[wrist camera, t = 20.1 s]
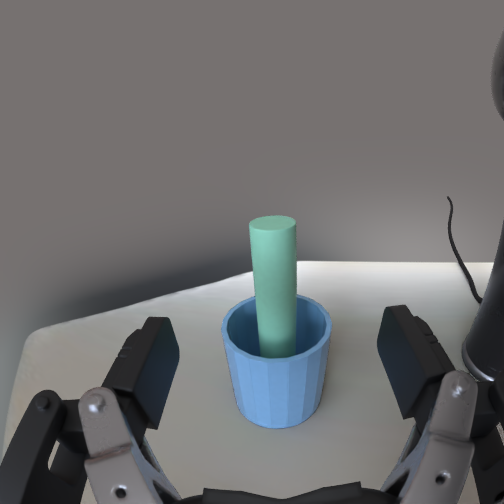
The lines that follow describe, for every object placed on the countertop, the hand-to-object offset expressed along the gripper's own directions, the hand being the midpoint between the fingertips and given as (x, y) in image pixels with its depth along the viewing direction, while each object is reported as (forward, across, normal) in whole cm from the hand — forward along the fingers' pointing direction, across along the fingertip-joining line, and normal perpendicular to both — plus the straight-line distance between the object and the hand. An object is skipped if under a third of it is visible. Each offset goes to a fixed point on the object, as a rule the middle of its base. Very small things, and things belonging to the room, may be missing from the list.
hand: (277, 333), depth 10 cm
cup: (+8, 0, +15) cm, 17 cm away
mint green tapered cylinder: (+8, 0, +14) cm, 17 cm away
